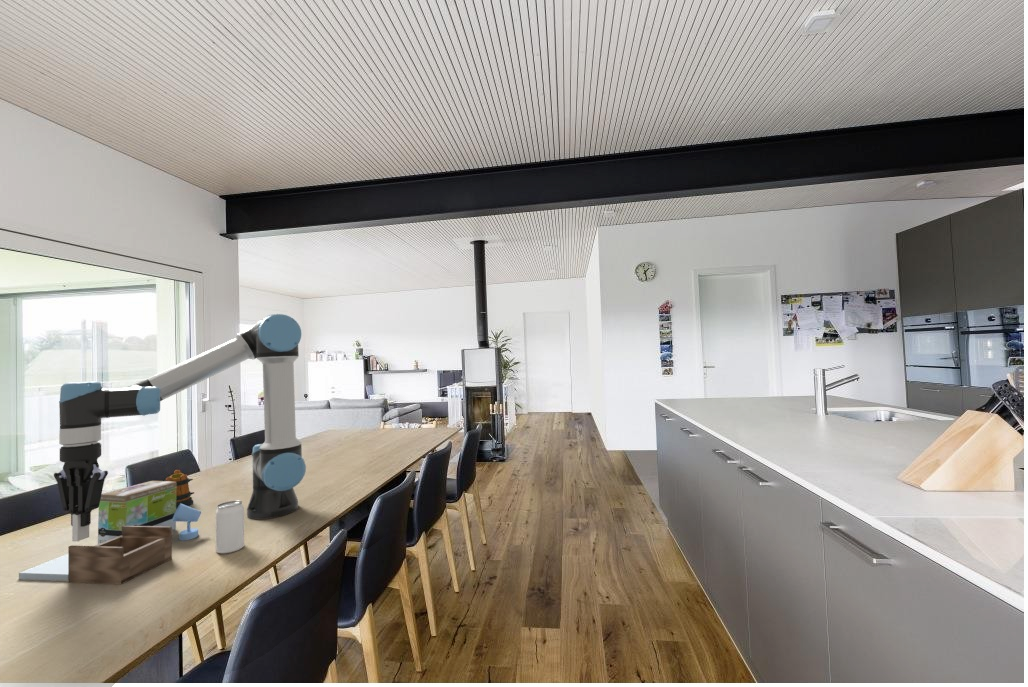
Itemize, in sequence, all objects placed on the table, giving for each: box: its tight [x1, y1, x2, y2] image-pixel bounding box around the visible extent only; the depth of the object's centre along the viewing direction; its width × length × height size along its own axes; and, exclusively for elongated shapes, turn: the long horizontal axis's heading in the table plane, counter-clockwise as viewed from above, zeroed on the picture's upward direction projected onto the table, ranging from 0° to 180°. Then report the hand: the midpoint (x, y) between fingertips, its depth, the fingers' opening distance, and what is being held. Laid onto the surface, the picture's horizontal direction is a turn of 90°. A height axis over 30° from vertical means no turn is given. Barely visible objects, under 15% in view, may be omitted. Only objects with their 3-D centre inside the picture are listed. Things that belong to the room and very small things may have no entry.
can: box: [215, 500, 245, 555], centre depth 120 cm, size 6×6×12 cm
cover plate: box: [18, 553, 68, 582], centre depth 111 cm, size 13×11×2 cm
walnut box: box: [67, 526, 173, 585], centre depth 110 cm, size 14×13×8 cm
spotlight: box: [172, 503, 202, 541], centre depth 129 cm, size 5×10×7 cm
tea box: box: [97, 480, 177, 545], centre depth 130 cm, size 15×10×15 cm, turn 168°
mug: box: [165, 469, 195, 510], centre depth 160 cm, size 13×10×12 cm
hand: (80, 539), depth 111 cm, fingers closed
